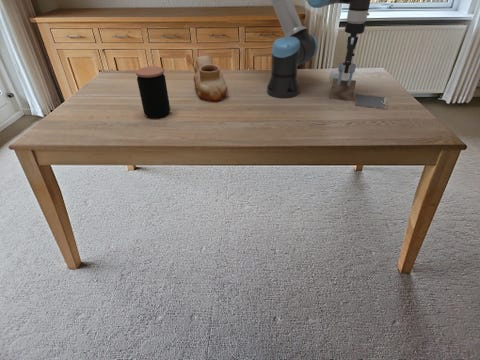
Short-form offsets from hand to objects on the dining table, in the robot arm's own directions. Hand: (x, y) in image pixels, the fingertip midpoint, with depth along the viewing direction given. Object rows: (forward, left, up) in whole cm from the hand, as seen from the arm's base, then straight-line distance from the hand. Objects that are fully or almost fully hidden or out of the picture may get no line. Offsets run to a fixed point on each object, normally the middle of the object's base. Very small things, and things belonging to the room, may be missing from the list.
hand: (345, 75), depth 136 cm
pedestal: (0, 0, -9) cm, 9 cm away
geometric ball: (-4, +16, -10) cm, 19 cm away
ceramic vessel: (-60, -15, -10) cm, 63 cm away
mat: (+13, -3, -9) cm, 16 cm away
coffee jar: (-71, -44, -10) cm, 84 cm away
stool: (0, 0, -3) cm, 3 cm away
